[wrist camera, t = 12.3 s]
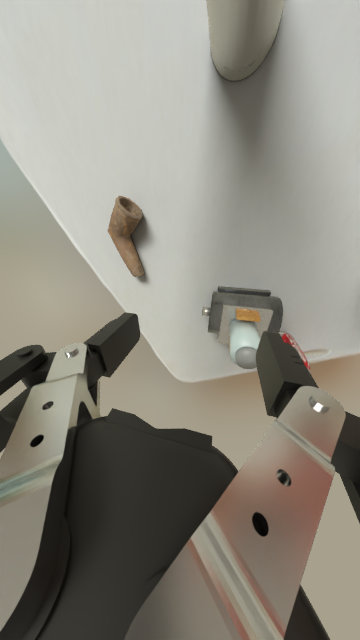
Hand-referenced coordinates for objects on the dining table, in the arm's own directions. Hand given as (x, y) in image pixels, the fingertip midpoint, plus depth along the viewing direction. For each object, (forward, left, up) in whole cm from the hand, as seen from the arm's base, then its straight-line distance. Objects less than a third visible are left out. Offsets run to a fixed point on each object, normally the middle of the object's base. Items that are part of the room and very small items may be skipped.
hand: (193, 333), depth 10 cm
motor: (+12, +7, -32) cm, 35 cm away
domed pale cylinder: (+12, +7, -21) cm, 25 cm away
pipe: (-3, -21, -33) cm, 39 cm away
